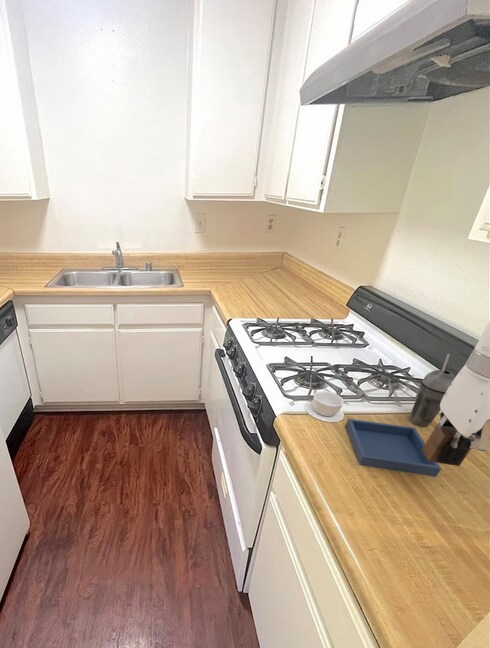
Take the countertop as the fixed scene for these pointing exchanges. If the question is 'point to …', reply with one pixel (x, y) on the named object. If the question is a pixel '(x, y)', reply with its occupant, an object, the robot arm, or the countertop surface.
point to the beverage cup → (430, 396)
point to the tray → (389, 447)
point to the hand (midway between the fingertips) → (442, 454)
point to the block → (440, 442)
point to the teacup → (326, 406)
